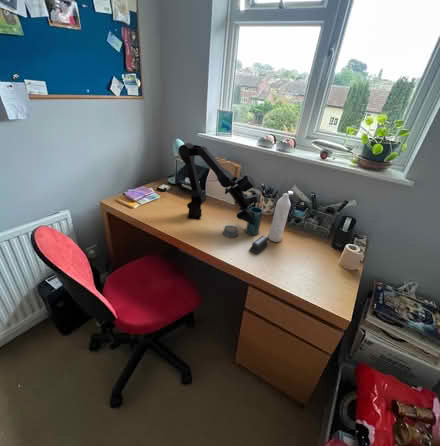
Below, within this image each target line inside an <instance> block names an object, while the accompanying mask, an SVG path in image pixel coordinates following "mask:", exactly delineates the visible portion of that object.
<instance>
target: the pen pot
mask: <svg viewBox="0 0 440 446" xmlns="http://www.w3.org/2000/svg"><path fill="white" fill-rule="evenodd" d="M249 210H250V212H251V217H252V219H253V221H254V223H255V225H252V224H250V223H248V222H246V225H245V233H246V234H248V235H250V236H256V235H258V234H259V232H260V227H261V222H262V218H263V213H264V210H263V209H262V208H261V207H257V206H256V207H251V208H250V209H249Z"/></svg>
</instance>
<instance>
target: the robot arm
mask: <svg viewBox="0 0 440 446" xmlns="http://www.w3.org/2000/svg"><path fill="white" fill-rule="evenodd" d="M177 151H178V154H179V157H180V159H181V160H182V162H183V163H184V165H185V169H186V173H187V177H188V181H189V184H190V189H191V195H190V199H191V200H190V202H188V203H187V204H186V206H187V209H188V216H187V219H193V220H200V219H201V217H202V212H203V208H202V205H203V204H204V203H205V202H207V201H206V200H207V194H206V189H204V190H203V189H202V188H201V184H200V180H199V175H198V172H197V166H196V162H195V157H196V156H197V157H200V158H201V159H202V161H204V163H205V164H207V166H208V167H209V169H210V170H211V171H212V172H214V174H215V176H216V178H217V181H218V183H219V184H220V185H221V187H223V188H224V190H225V191H224V194H225V195H227V194H229V195H230V196H231V197H232V199H233V200H234V202H233V203H234V204H235V205H237V206H238V212H237V213H236V218H237V219H238V220H242V221H245V222H246V223H247V222H248V223H250V224H252V225H255V223H254V221H253V219H252V217H251V212H250V210H249V209H250V208H251V207H257V204H258V203H259V201H260V200H261V199H260V194H259V192H257V191H256V190H254V191H253V190H252V192H251V194H249V195H248V194H247V193H246V192H247V191H249V190H251V189H252V188H254V187H256V181H255V180H254V178H253V177H251V176H250V175H248V174H247V173H246V174H245V175H244V176H242V177H241V178H240V177H237V176H234V175H233V174H232V173H231V172H230V171H229V170H228V169H225V168H224V167H223V166H222V164H220V162H219V161H218V160H217V159H216V157H214V156H213V154H212V153H211V152H210V151H209V150H208V148H207V146H203V145H198V144H193V143H191V142H186V143H184V144H181V145H180V146H179V147H178V149H177ZM244 192H245V193H244Z"/></svg>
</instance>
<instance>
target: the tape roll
mask: <svg viewBox="0 0 440 446" xmlns="http://www.w3.org/2000/svg"><path fill="white" fill-rule="evenodd" d="M223 229H224V230H223V235H224V236H225V237H227V238H235V237H236V236H237V235H238V227H236V226H235V225H231V224H230V225H225V226H224V228H223Z"/></svg>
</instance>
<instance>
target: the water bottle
mask: <svg viewBox="0 0 440 446" xmlns="http://www.w3.org/2000/svg"><path fill="white" fill-rule="evenodd" d="M293 195H294V191H292V190H288V191H287V192H284V193H283V194H282V196H281V197H280V198H279V199H278V200H277V201H276V203H275V209H274V213H273V217H272V219H271V220H272V221H271V225H270V228H269V233H268V237H267V238H268V240H269V241H270V242H273V243H279V242H281V241H282V238H283V234H284V231H285V227H286V223H287V220H288V216H289V213H290V209H291V205H292V204H291V203H292V202H291V200H290V198H289V197H290V196H293Z"/></svg>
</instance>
